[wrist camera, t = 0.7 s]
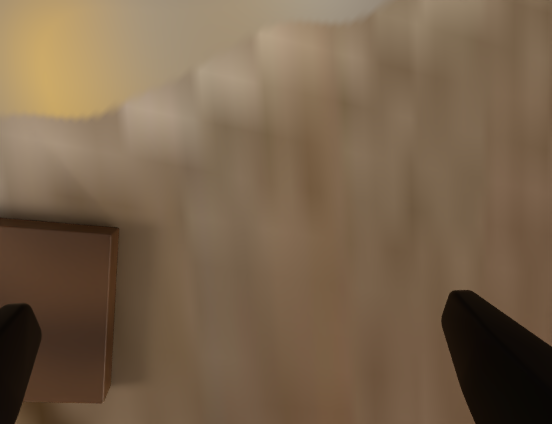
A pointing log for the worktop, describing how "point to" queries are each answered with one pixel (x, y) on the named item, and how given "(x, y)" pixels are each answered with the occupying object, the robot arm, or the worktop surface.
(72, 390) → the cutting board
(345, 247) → the worktop surface
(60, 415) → the worktop surface
